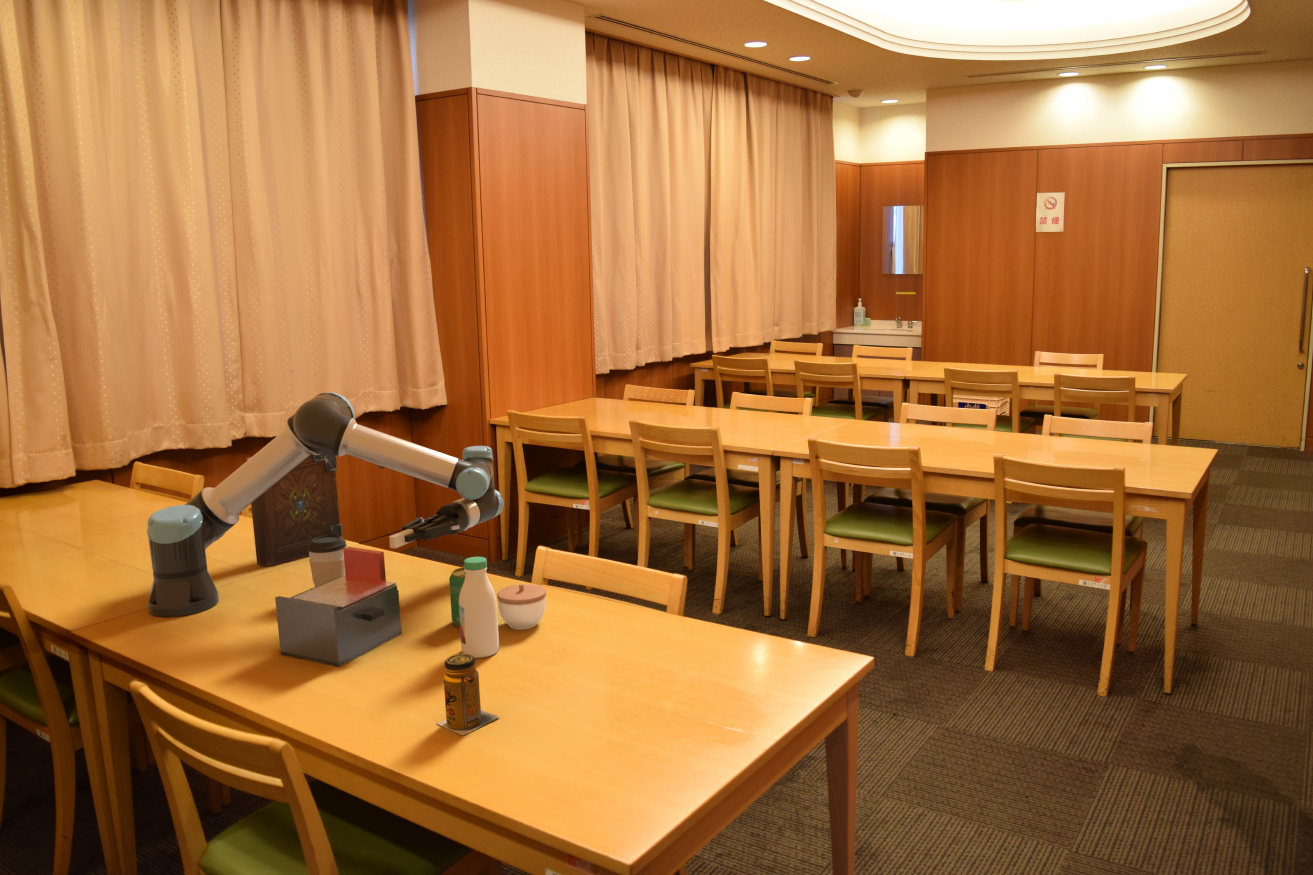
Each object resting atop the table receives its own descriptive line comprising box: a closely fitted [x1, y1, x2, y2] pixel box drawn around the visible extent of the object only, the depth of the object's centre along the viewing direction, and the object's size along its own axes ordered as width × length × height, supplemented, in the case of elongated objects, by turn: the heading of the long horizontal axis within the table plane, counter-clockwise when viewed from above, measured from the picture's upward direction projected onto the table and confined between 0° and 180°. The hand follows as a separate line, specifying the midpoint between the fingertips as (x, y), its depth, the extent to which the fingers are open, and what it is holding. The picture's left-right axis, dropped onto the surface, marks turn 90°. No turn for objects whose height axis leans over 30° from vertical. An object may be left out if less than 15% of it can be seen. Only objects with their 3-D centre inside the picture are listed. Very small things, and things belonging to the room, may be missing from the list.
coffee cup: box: [307, 534, 348, 587], centre depth 236 cm, size 9×9×15 cm
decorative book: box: [246, 452, 344, 567], centre depth 268 cm, size 23×7×30 cm, turn 139°
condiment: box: [436, 653, 501, 736], centre depth 170 cm, size 7×8×12 cm
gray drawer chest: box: [274, 576, 402, 668], centre depth 206 cm, size 19×21×12 cm
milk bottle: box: [459, 556, 500, 659], centre depth 200 cm, size 8×8×20 cm
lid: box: [293, 546, 397, 611], centre depth 206 cm, size 16×14×8 cm
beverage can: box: [448, 566, 466, 629], centre depth 217 cm, size 8×8×12 cm
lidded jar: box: [496, 583, 547, 631], centre depth 215 cm, size 11×11×9 cm
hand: (392, 542), depth 219 cm, fingers closed
